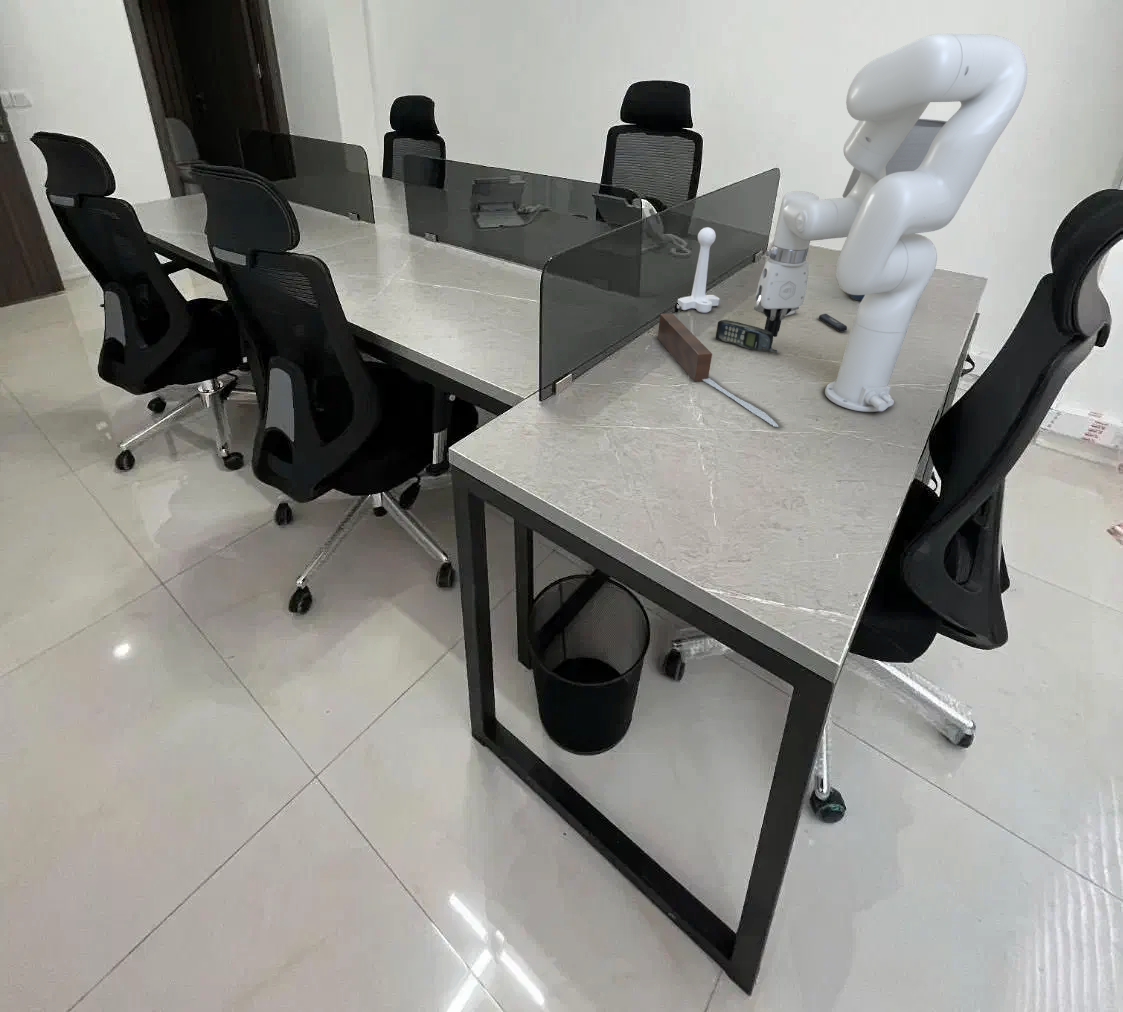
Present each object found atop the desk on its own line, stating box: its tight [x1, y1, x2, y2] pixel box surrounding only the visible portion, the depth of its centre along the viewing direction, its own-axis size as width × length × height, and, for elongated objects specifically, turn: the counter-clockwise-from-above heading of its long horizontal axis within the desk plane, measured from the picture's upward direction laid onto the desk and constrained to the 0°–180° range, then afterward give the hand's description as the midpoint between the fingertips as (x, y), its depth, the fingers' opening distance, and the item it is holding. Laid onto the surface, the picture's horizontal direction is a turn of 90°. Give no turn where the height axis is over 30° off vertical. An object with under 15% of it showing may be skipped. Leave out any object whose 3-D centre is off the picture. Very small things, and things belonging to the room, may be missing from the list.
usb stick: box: [818, 313, 848, 333], centre depth 165 cm, size 10×3×2 cm, turn 14°
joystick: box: [676, 226, 720, 314], centre depth 168 cm, size 11×8×20 cm
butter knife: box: [702, 377, 779, 428], centre depth 132 cm, size 1×27×3 cm
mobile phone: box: [715, 319, 778, 354], centre depth 152 cm, size 5×3×15 cm
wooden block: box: [657, 312, 713, 382], centre depth 145 cm, size 24×3×6 cm, turn 12°
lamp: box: [842, 118, 948, 302], centre depth 171 cm, size 25×25×43 cm
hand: (770, 334), depth 153 cm, fingers closed
